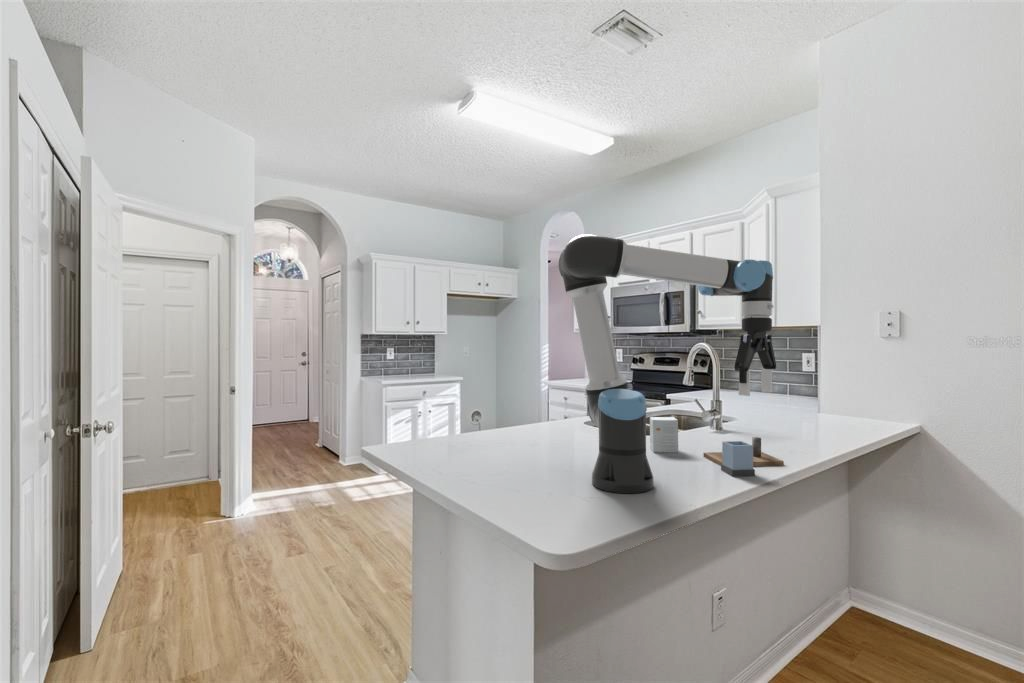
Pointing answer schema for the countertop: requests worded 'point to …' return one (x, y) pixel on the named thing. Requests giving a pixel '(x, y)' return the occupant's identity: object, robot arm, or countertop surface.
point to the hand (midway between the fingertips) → (755, 393)
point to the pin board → (758, 456)
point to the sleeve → (737, 458)
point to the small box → (663, 434)
